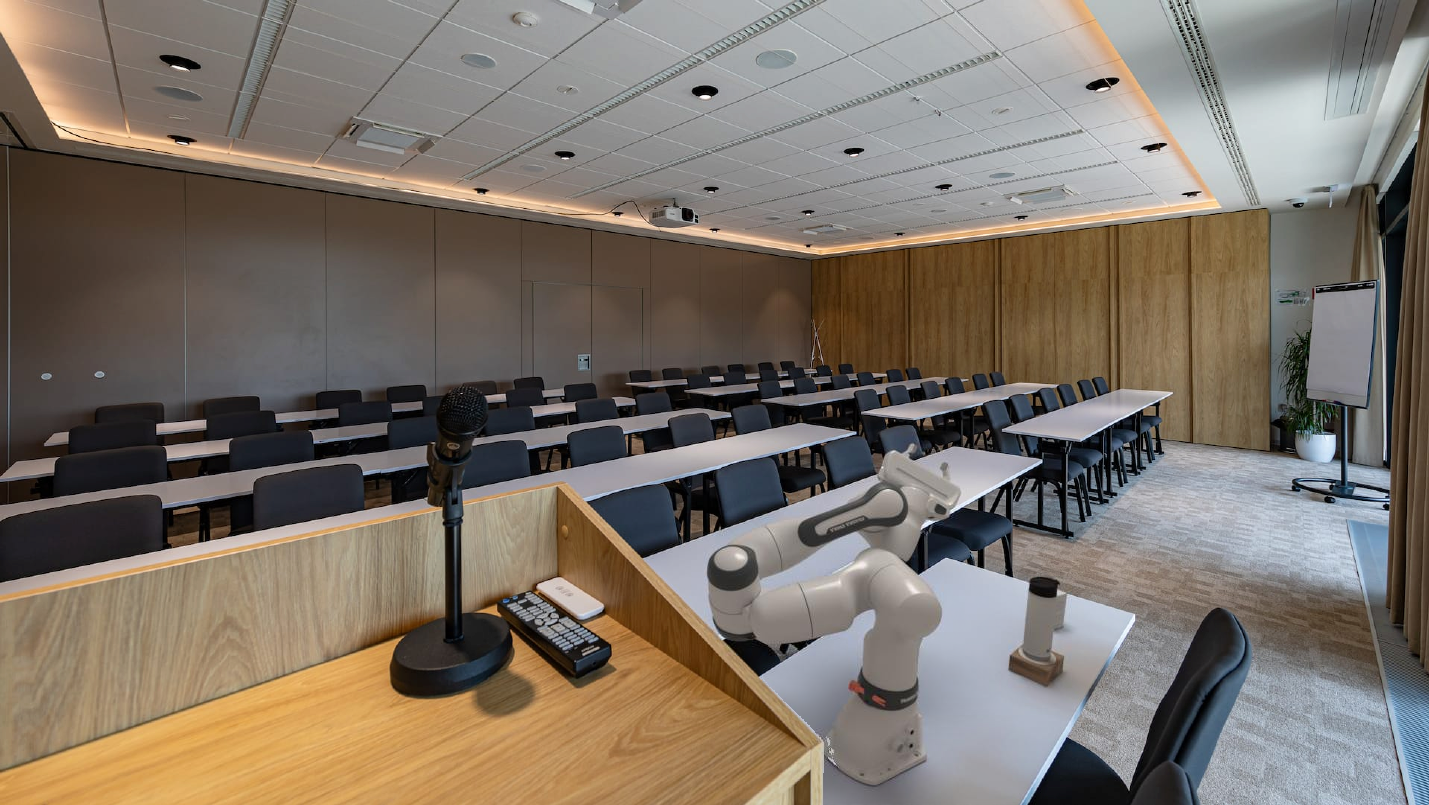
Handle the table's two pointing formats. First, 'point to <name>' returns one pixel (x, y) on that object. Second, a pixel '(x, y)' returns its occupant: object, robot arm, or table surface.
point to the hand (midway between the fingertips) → (930, 454)
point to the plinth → (1036, 666)
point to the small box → (1060, 609)
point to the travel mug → (1040, 618)
